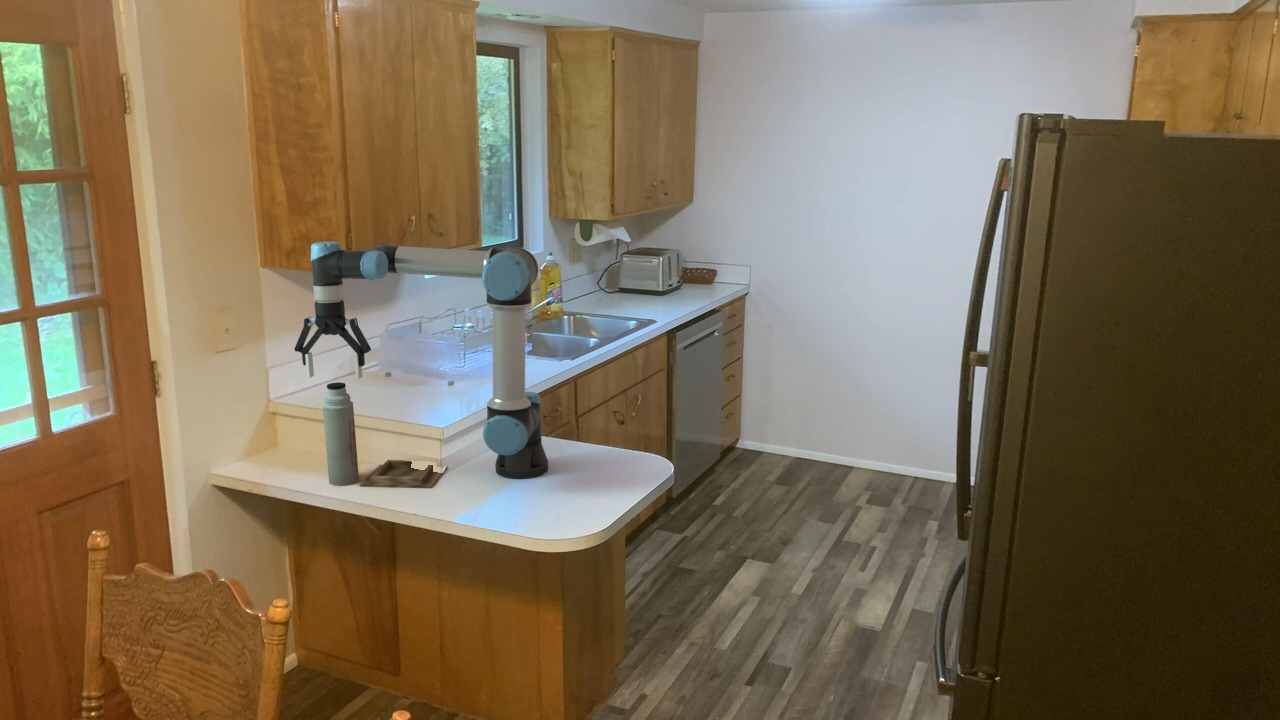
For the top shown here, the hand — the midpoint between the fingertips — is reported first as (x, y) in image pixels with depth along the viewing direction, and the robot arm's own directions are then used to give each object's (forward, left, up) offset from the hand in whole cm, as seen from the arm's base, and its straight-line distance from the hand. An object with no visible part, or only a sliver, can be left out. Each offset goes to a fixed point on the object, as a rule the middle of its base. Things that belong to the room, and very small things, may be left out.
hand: (334, 377), depth 251 cm
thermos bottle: (0, 0, -30) cm, 30 cm away
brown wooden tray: (-16, -4, -30) cm, 34 cm away
